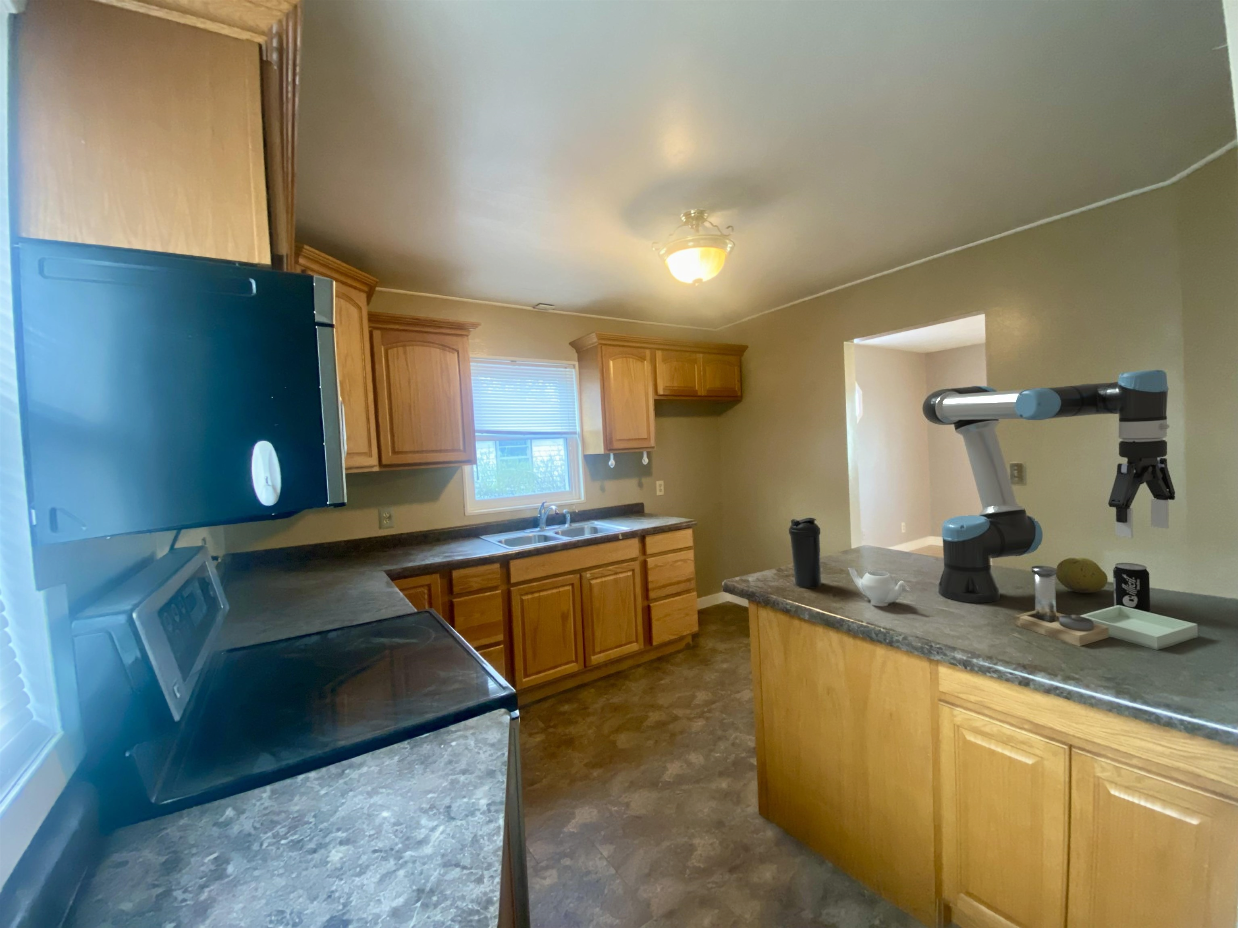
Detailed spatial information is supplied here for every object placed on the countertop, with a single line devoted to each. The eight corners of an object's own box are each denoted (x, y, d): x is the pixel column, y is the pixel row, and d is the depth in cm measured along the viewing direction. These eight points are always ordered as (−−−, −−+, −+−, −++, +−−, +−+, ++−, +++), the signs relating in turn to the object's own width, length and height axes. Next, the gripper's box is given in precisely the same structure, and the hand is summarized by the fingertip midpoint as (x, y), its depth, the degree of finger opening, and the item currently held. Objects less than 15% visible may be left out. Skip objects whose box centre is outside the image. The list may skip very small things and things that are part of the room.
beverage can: (1157, 615, 126) (1156, 568, 125) (1127, 615, 127) (1125, 569, 126) (1136, 605, 132) (1135, 561, 131) (1107, 606, 133) (1106, 562, 133)
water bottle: (828, 587, 167) (824, 520, 166) (798, 589, 168) (793, 522, 166) (817, 578, 178) (812, 515, 176) (788, 581, 178) (784, 517, 176)
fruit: (1050, 593, 145) (1049, 560, 145) (1062, 583, 152) (1061, 551, 152) (1103, 602, 136) (1101, 566, 136) (1112, 591, 143) (1111, 557, 143)
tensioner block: (1015, 625, 127) (1014, 606, 127) (1042, 617, 130) (1041, 599, 130) (1079, 646, 114) (1078, 624, 113) (1108, 637, 116) (1108, 616, 116)
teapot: (902, 616, 138) (900, 584, 138) (840, 598, 156) (838, 569, 156) (922, 608, 143) (920, 576, 142) (860, 591, 161) (858, 563, 160)
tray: (1079, 627, 123) (1079, 615, 122) (1118, 616, 127) (1118, 605, 127) (1157, 650, 109) (1156, 636, 109) (1197, 636, 113) (1197, 624, 113)
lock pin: (1029, 625, 126) (1026, 567, 125) (1042, 621, 128) (1040, 564, 127) (1050, 632, 122) (1047, 572, 121) (1063, 628, 123) (1061, 568, 122)
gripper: (1130, 445, 104) (1130, 543, 106) (1197, 434, 112) (1196, 526, 114) (1087, 444, 111) (1087, 537, 113) (1152, 434, 119) (1152, 521, 121)
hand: (1142, 531), depth 114 cm, fingers open, 13 cm apart
